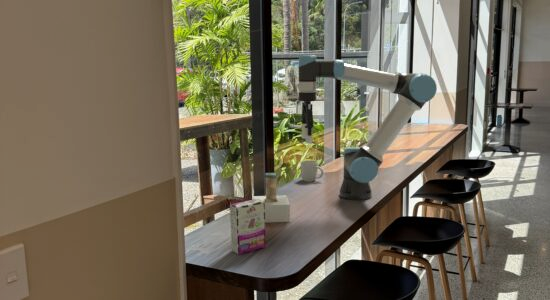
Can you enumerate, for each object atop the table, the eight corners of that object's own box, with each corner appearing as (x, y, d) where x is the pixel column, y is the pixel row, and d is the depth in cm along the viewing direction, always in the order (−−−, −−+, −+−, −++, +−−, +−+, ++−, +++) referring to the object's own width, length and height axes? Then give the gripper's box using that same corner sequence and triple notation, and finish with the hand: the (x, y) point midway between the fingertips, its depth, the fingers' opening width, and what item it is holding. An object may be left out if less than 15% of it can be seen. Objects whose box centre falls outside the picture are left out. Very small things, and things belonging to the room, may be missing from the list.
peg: (275, 215, 203) (275, 172, 200) (276, 218, 199) (276, 175, 196) (265, 215, 203) (265, 173, 200) (266, 218, 199) (266, 175, 196)
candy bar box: (257, 243, 171) (257, 198, 168) (266, 247, 167) (265, 201, 164) (230, 250, 164) (229, 203, 162) (238, 255, 160) (237, 207, 158)
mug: (297, 181, 261) (297, 163, 260) (304, 177, 269) (304, 160, 268) (320, 183, 256) (320, 165, 254) (326, 180, 264) (326, 162, 262)
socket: (286, 211, 208) (286, 195, 207) (289, 221, 194) (289, 204, 193) (253, 212, 207) (253, 196, 206) (254, 222, 193) (254, 205, 192)
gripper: (295, 90, 222) (295, 136, 226) (302, 93, 198) (302, 145, 201) (311, 90, 223) (311, 136, 226) (320, 93, 198) (320, 145, 202)
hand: (307, 140), depth 214 cm, fingers open, 13 cm apart
